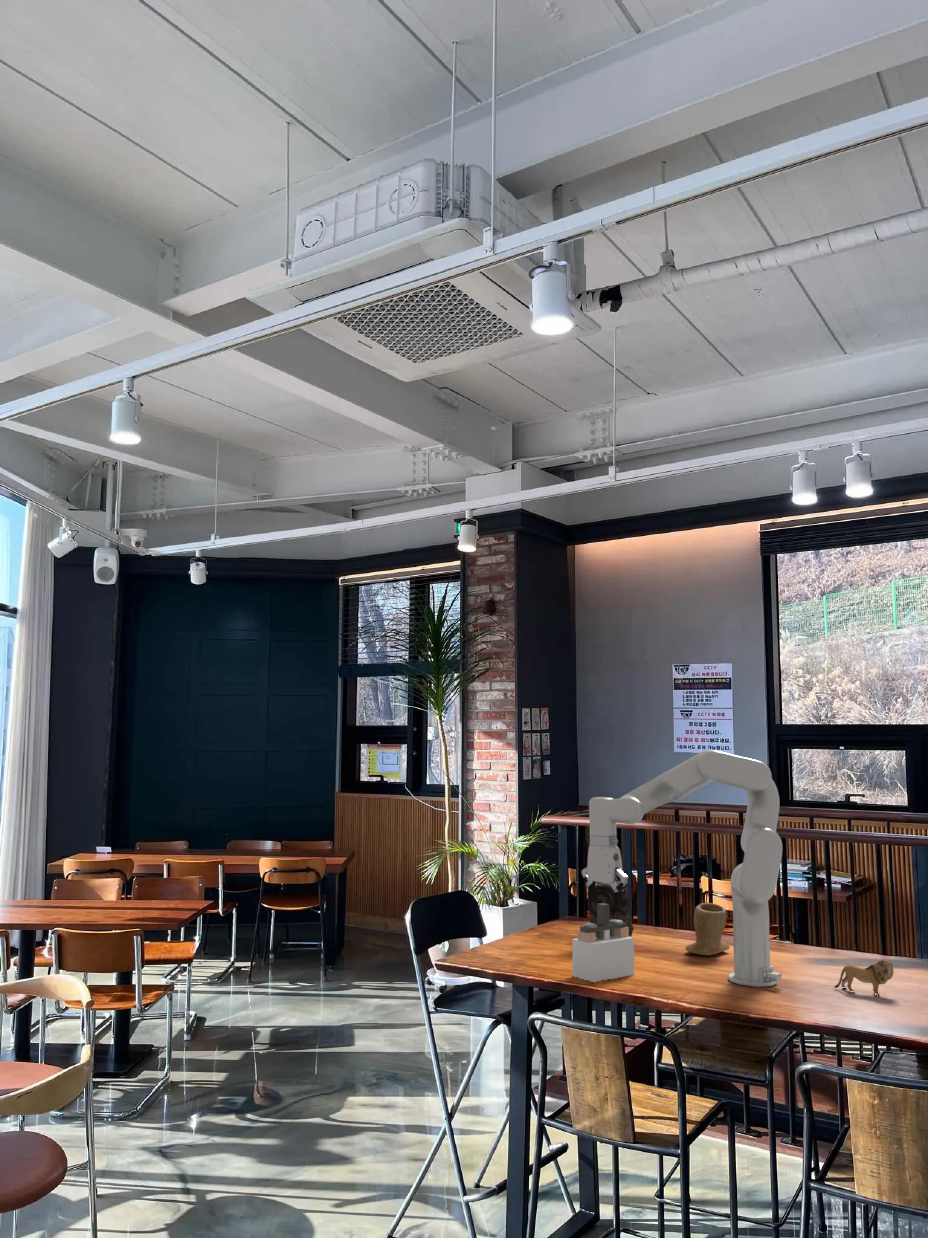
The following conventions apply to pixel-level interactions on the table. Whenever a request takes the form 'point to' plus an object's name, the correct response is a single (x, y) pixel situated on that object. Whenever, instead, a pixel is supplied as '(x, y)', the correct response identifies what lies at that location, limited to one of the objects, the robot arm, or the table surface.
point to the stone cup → (708, 929)
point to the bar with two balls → (602, 922)
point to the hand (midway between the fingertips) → (605, 904)
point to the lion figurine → (867, 974)
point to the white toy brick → (603, 955)
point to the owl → (614, 912)
